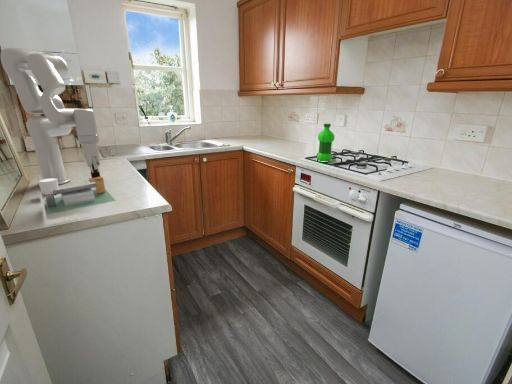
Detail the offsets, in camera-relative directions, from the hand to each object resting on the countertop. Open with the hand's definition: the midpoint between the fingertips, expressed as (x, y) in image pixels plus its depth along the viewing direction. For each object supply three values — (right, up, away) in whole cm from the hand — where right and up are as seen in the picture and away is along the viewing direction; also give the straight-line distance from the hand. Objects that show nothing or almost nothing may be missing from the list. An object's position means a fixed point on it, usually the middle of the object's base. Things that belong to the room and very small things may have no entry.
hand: (96, 180), depth 124 cm
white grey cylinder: (-17, -7, -4) cm, 19 cm away
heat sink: (-1, -9, -15) cm, 18 cm away
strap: (+1, -4, -15) cm, 16 cm away
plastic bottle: (+117, +15, +62) cm, 133 cm away
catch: (+4, -5, -5) cm, 8 cm away
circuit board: (+1, -10, -13) cm, 16 cm away
